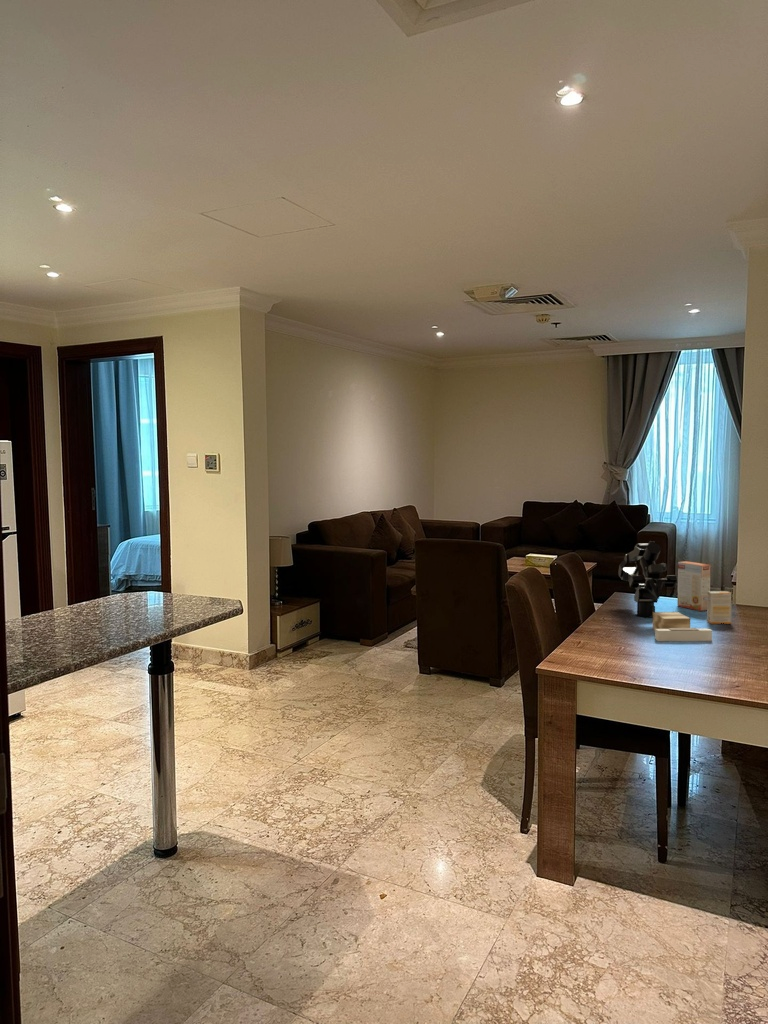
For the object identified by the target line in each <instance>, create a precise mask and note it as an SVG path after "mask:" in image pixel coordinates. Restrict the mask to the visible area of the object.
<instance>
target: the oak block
mask: <svg viewBox="0 0 768 1024" xmlns="http://www.w3.org/2000/svg"><path fill="white" fill-rule="evenodd" d="M668 628H691V617H689V616H687V615H684V614H683V613H681V612H678V611H664V612H663V611H659V612H657V611H655V612H653V617H652V630H653V629H654V630H653V631H655V629H668Z"/></svg>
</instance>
